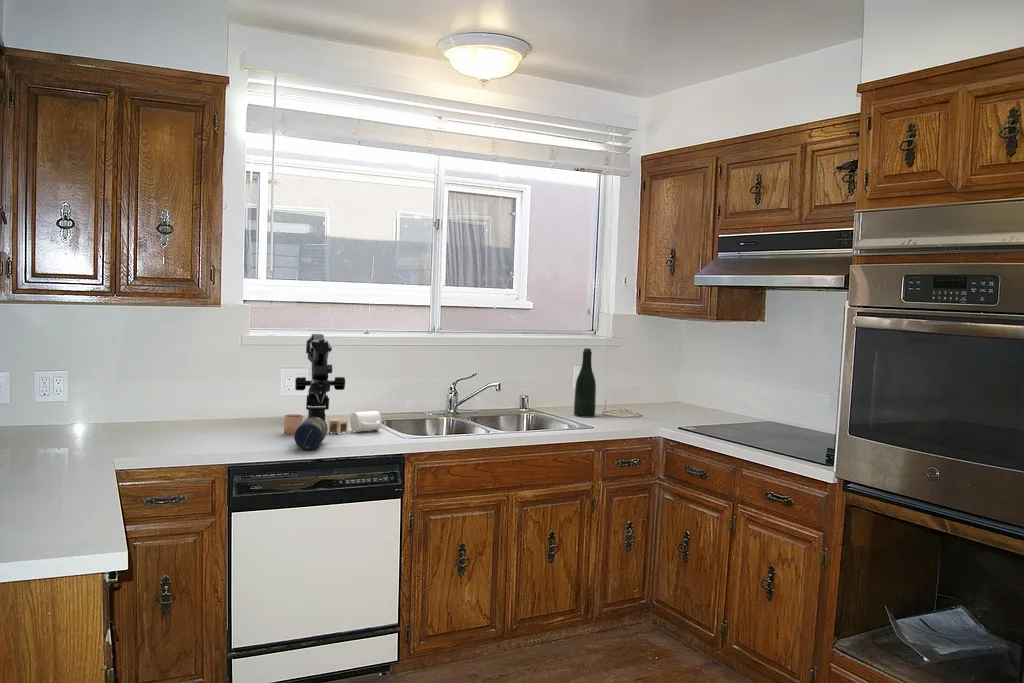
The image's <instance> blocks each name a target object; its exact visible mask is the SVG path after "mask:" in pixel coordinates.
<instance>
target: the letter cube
mask: <svg viewBox="0 0 1024 683" xmlns="http://www.w3.org/2000/svg"><path fill="white" fill-rule="evenodd" d="M348 422H349V421H348V420H346V419H341V418H336V419H330V420H328V433H329V432H332V433H343V432H347V433H348V426H349V425H348V424H349V423H348ZM332 433H331V434H332Z"/></svg>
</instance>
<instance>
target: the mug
mask: <svg viewBox="0 0 1024 683" xmlns="http://www.w3.org/2000/svg"><path fill="white" fill-rule="evenodd" d="M349 424H350V429H351V431H352V430H353V431H355V432H354V433H362V432H361V431H368V432H373V431H372V430H378V431H380V429H381V428H382V427H381V426H382V417H381V413H380V412H379V411H377V410H372V411H371V410H369V411H354V412H352V413H351V414H350V419H349ZM353 431H352V432H353Z"/></svg>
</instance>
